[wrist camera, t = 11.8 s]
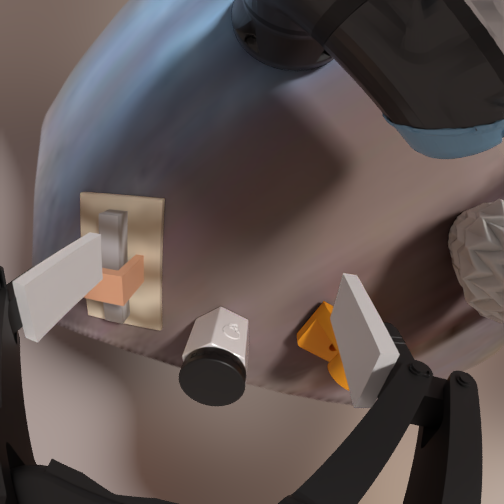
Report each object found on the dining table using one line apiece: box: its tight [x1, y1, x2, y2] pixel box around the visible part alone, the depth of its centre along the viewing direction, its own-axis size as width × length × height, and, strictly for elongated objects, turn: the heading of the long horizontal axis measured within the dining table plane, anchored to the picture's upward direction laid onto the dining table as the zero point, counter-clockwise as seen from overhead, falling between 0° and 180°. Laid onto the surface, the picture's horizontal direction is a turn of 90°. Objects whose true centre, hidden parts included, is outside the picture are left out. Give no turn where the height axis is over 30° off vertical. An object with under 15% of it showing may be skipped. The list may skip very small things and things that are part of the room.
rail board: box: [80, 192, 165, 331], centre depth 41 cm, size 20×13×4 cm, turn 173°
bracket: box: [297, 301, 350, 391], centre depth 40 cm, size 11×7×12 cm, turn 58°
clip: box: [83, 254, 144, 306], centre depth 38 cm, size 4×8×8 cm, turn 83°
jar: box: [179, 307, 249, 406], centre depth 40 cm, size 9×8×12 cm
